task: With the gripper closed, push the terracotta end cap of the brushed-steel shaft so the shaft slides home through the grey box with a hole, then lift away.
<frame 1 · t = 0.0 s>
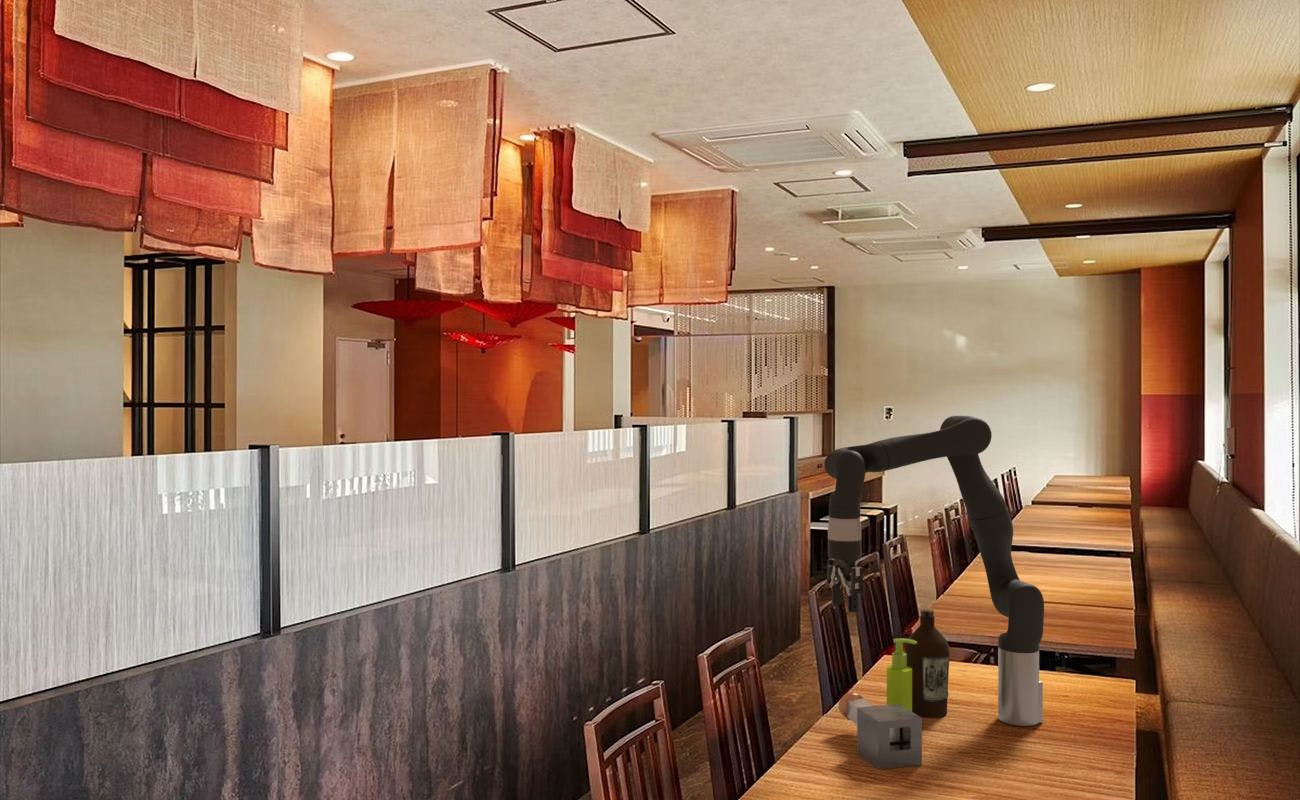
hand: (844, 608, 237), 29 cm above the table, fingers open, 8 cm apart
shaft: (870, 718, 231), point 6 cm above the table, slide at 8.0 cm
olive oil: (927, 713, 255), on the table
soap dispenser: (901, 724, 246), on the table
grey box with hole: (889, 759, 223), on the table
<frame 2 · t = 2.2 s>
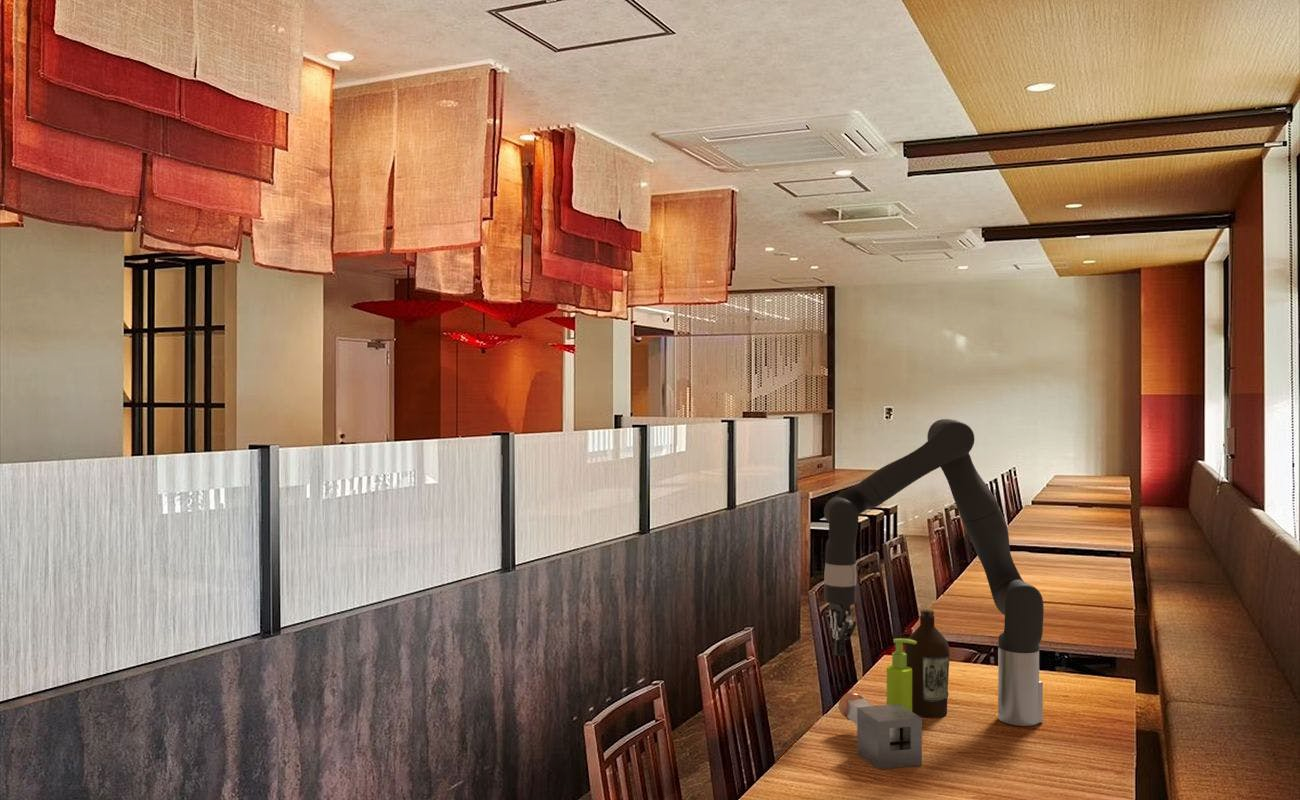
hand: (839, 655, 247), 16 cm above the table, fingers closed
nothing on the table moved.
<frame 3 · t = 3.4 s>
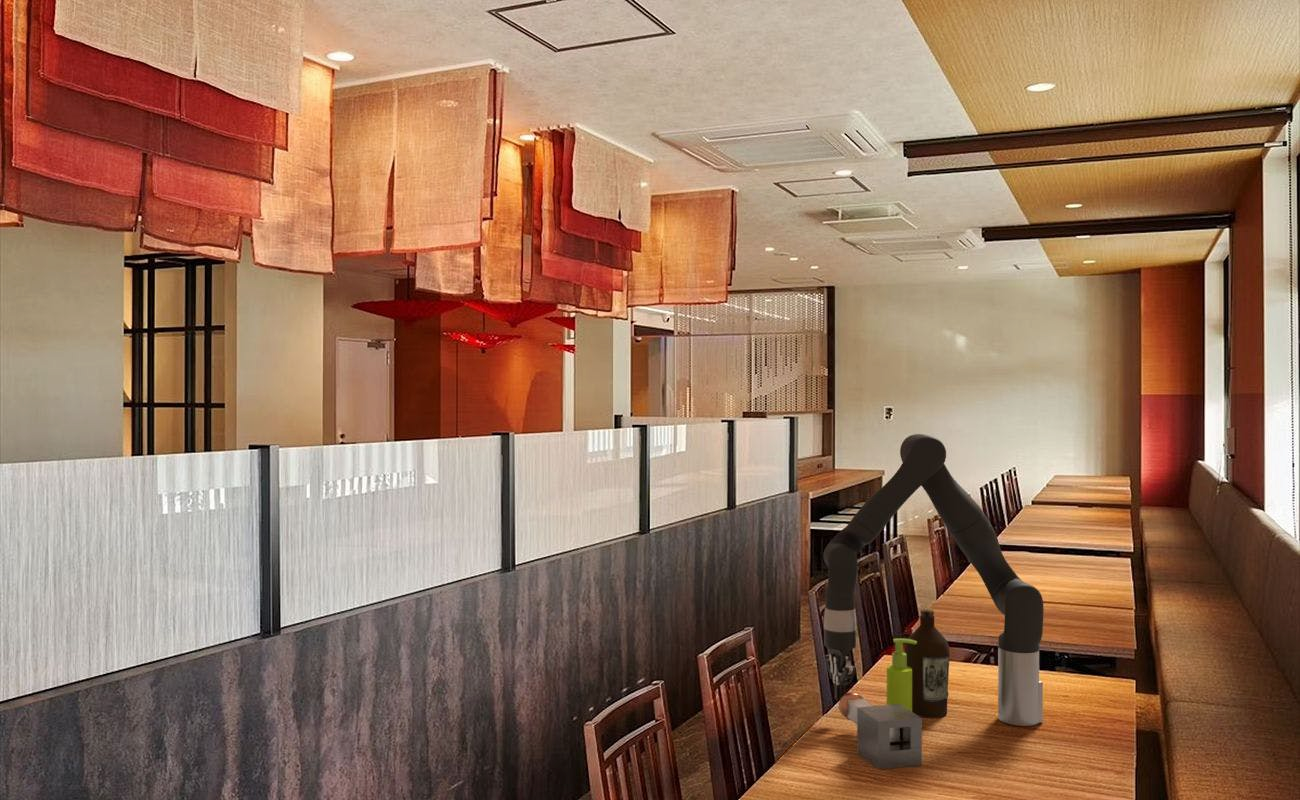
hand: (840, 699, 247), 6 cm above the table, fingers closed
nothing on the table moved.
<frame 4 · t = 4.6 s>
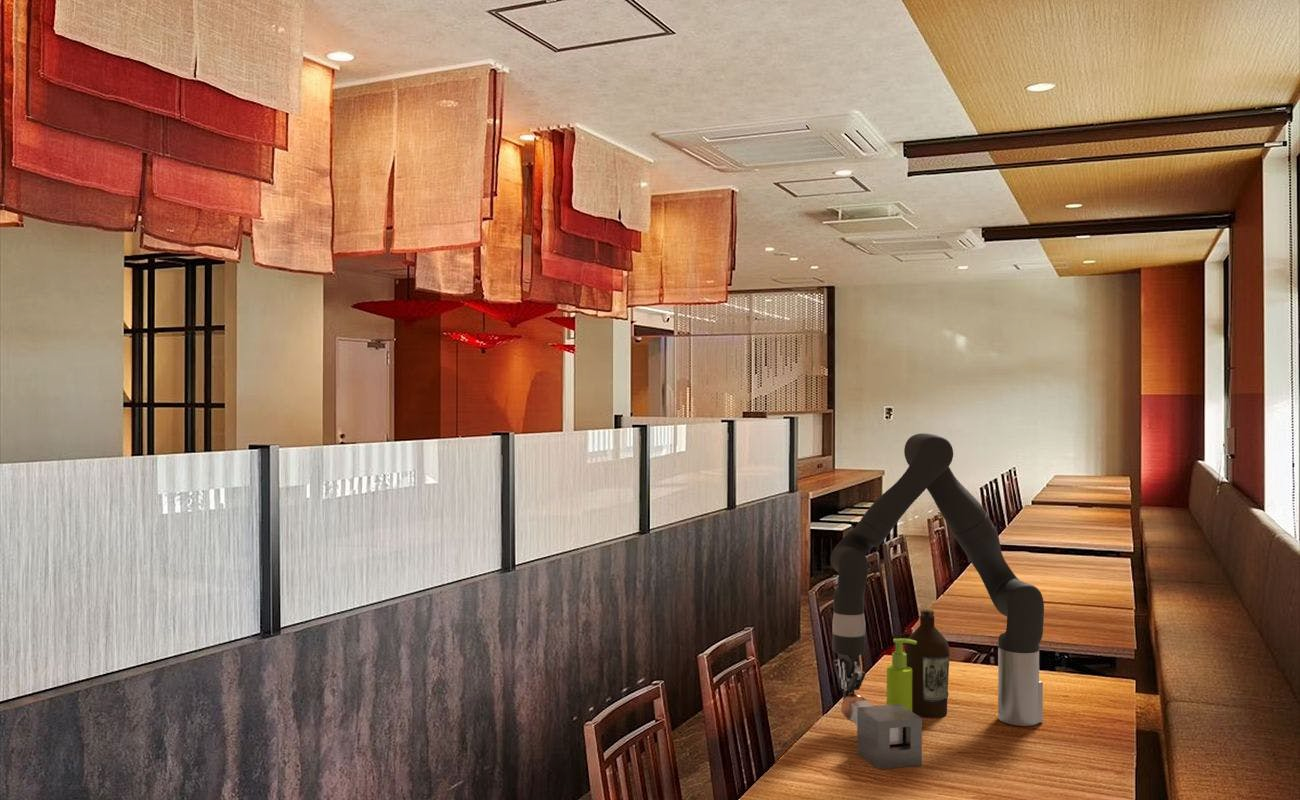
hand: (848, 705, 242), 5 cm above the table, fingers closed
shaft: (872, 720, 230), point 6 cm above the table, slide at 6.6 cm, touching gripper
everything else where it was.
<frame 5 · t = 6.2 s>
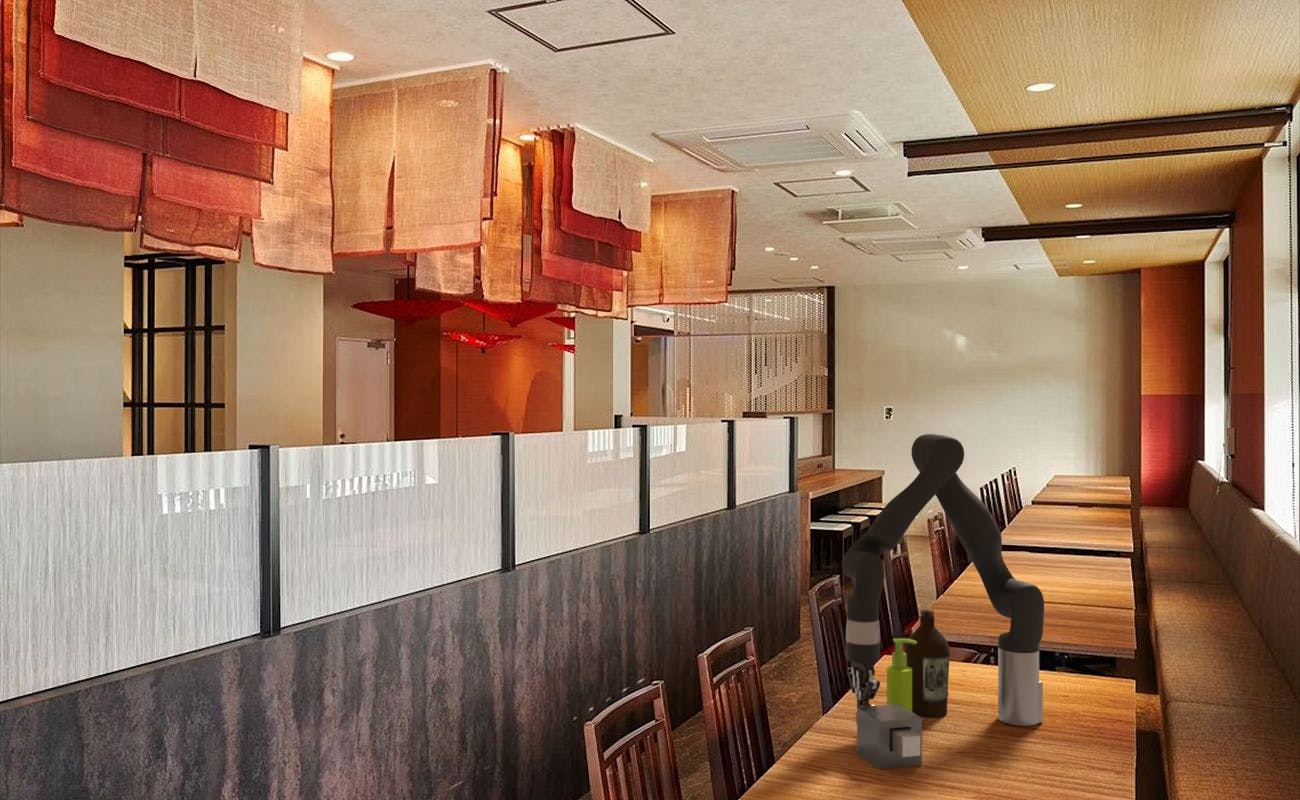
hand: (862, 715, 235), 5 cm above the table, fingers closed
shaft: (888, 730, 223), point 6 cm above the table, slide at -0.8 cm, touching gripper
everything else where it was.
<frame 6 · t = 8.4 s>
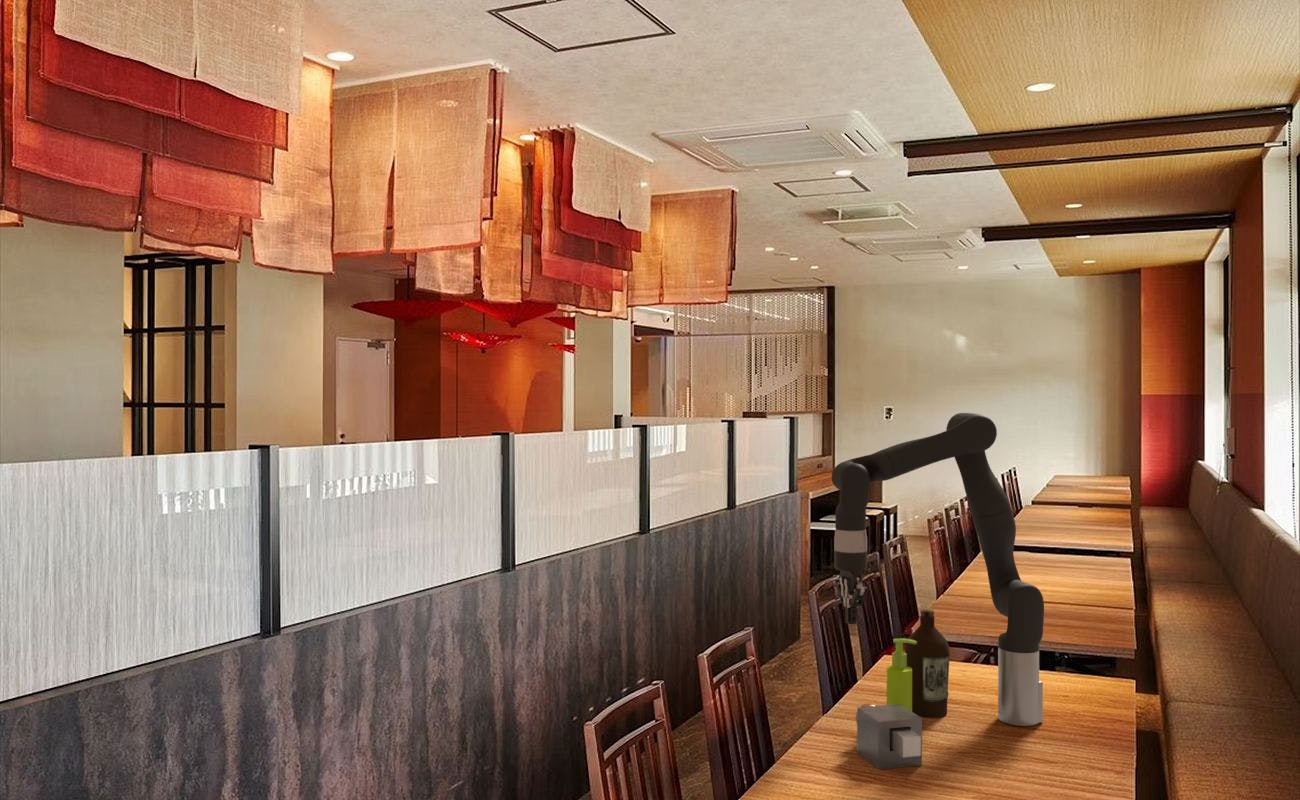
hand: (851, 623, 241), 25 cm above the table, fingers closed
shaft: (889, 731, 222), point 6 cm above the table, slide at -1.0 cm
everything else where it was.
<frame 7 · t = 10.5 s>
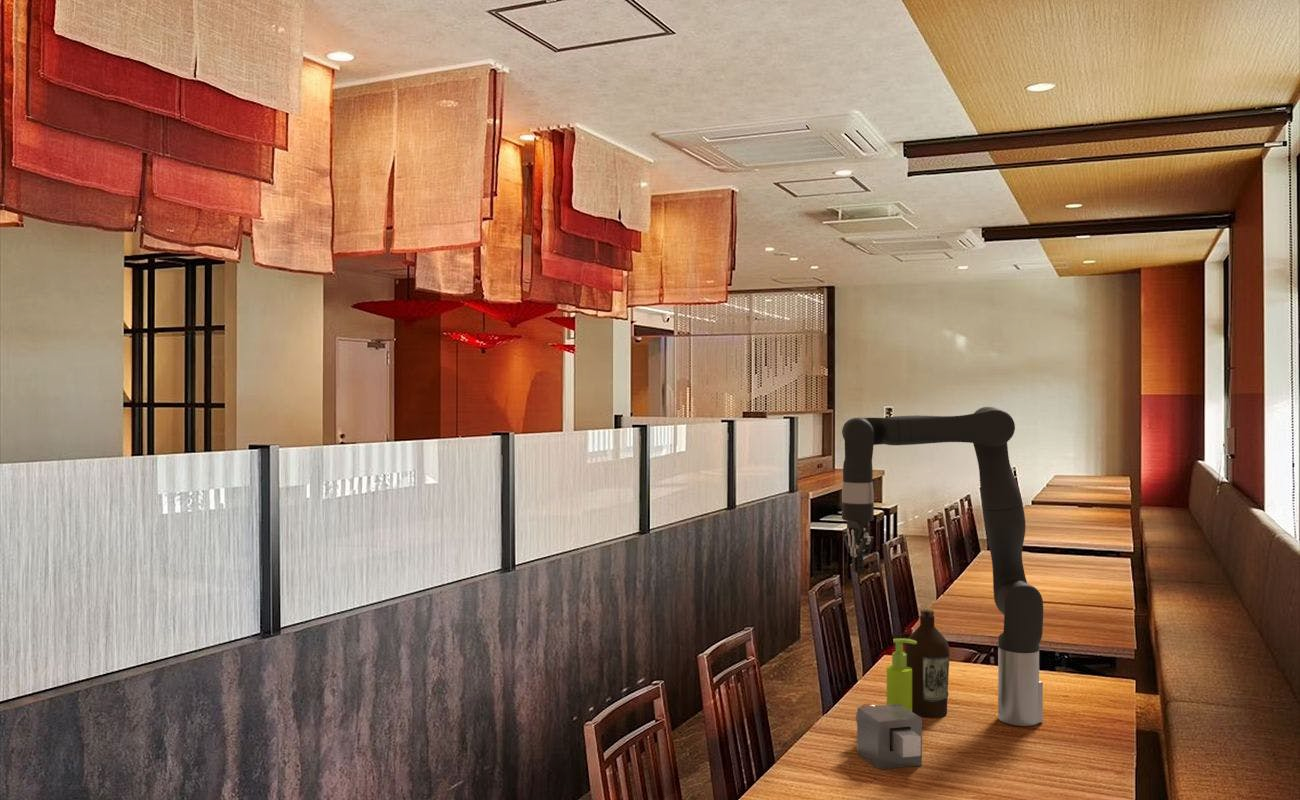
hand: (857, 572, 251), 35 cm above the table, fingers closed
nothing on the table moved.
at the end: shaft slide at -1.0 cm; soap dispenser moved 0.2 cm from its start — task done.
